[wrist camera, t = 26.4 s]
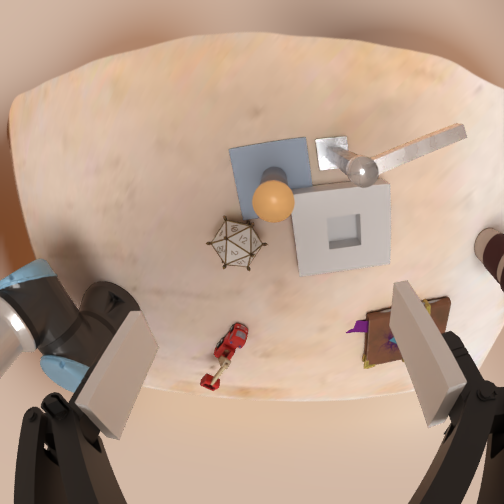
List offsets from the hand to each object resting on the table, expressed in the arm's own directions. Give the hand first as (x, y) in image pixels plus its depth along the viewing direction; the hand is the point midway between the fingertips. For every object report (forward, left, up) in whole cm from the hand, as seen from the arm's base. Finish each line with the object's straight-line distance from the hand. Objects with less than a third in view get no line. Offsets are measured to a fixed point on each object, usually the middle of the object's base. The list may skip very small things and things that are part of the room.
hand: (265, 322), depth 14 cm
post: (+10, +3, -35) cm, 36 cm away
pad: (0, 0, -35) cm, 35 cm away
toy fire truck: (-15, -33, -35) cm, 50 cm away
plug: (0, 0, -34) cm, 34 cm away
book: (+23, -37, -35) cm, 56 cm away
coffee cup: (+44, -17, -35) cm, 59 cm away
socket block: (+10, -9, -35) cm, 37 cm away
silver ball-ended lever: (+16, +5, -19) cm, 25 cm away
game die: (-7, -9, -35) cm, 37 cm away
